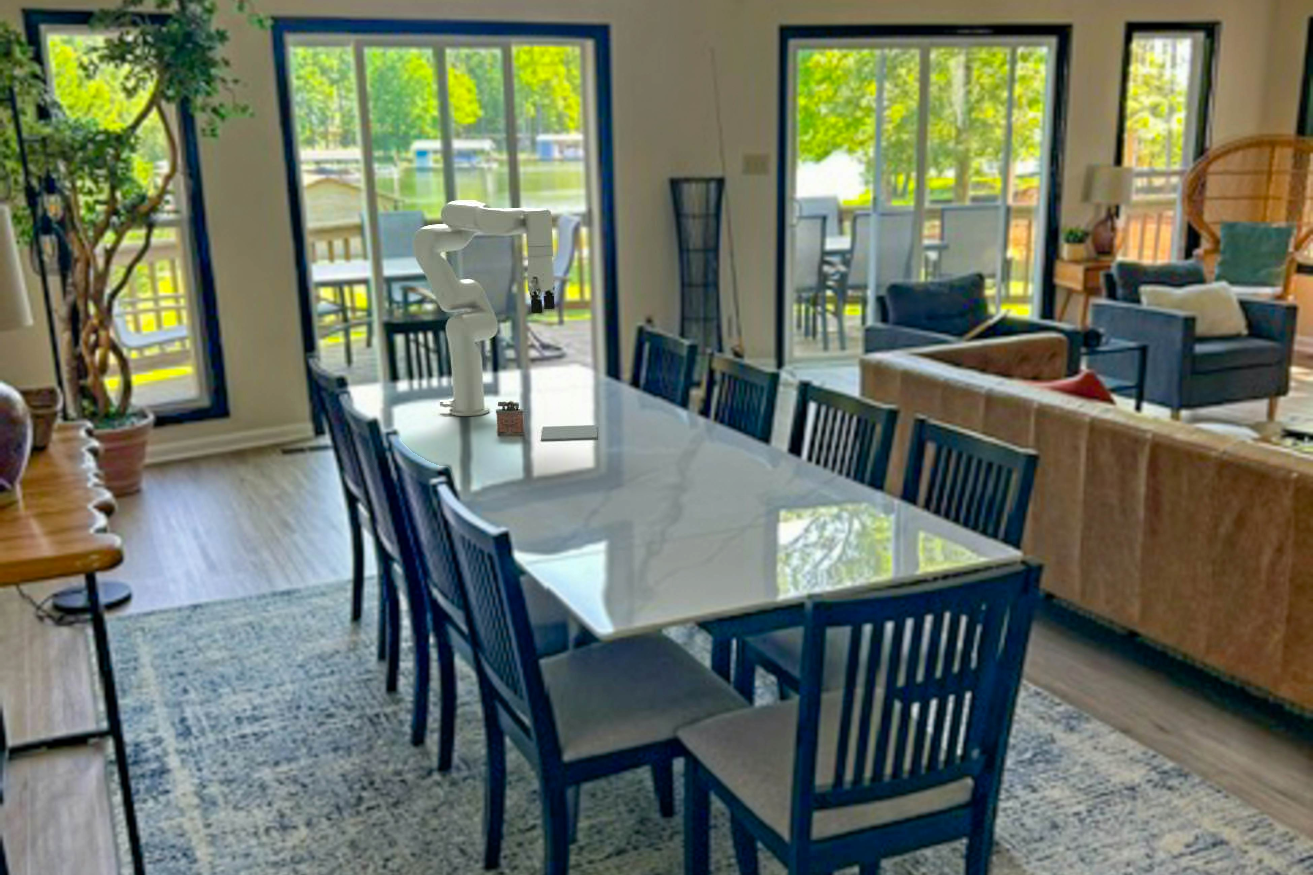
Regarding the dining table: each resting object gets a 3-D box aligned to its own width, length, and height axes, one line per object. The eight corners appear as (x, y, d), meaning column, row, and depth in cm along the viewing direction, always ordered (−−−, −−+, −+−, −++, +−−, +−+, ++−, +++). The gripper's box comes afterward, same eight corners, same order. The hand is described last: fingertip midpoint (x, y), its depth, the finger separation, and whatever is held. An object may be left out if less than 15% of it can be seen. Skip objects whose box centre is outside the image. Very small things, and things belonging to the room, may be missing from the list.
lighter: (525, 433, 330) (524, 400, 328) (523, 436, 327) (521, 402, 324) (498, 433, 331) (496, 400, 328) (495, 436, 327) (494, 402, 325)
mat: (540, 441, 321) (540, 439, 321) (542, 428, 335) (542, 426, 335) (597, 439, 322) (597, 437, 322) (596, 426, 336) (596, 425, 336)
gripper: (539, 250, 337) (542, 307, 341) (516, 254, 321) (519, 315, 325) (563, 249, 335) (565, 307, 339) (541, 254, 319) (544, 315, 323)
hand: (543, 311), depth 332 cm, fingers open, 9 cm apart
